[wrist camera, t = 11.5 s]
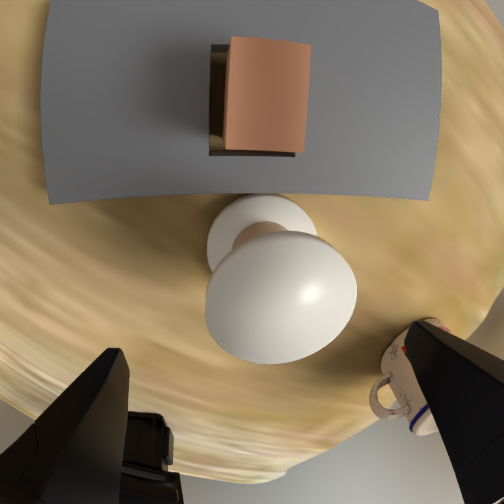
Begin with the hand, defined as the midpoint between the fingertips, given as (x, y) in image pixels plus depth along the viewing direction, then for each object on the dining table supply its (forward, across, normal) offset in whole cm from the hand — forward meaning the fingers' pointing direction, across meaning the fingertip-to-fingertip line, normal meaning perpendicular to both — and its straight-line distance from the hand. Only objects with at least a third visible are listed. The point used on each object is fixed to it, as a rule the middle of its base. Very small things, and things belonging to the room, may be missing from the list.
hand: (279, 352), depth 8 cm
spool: (+11, -1, +2) cm, 12 cm away
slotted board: (+11, 0, -9) cm, 14 cm away
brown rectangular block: (+11, 0, -7) cm, 13 cm away
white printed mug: (+12, -17, +15) cm, 26 cm away
